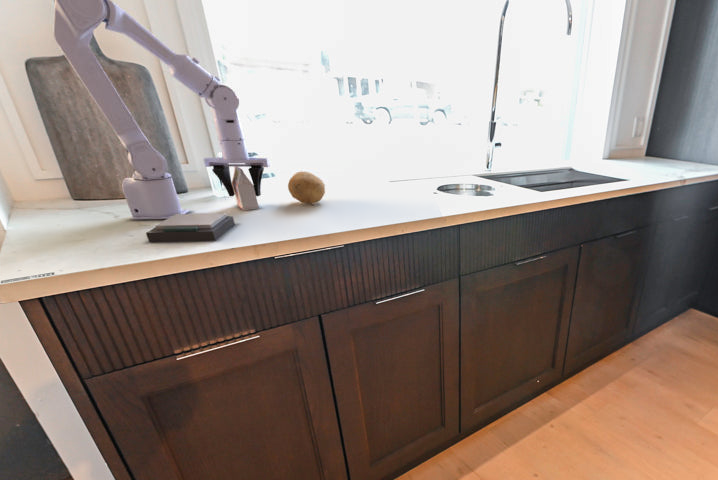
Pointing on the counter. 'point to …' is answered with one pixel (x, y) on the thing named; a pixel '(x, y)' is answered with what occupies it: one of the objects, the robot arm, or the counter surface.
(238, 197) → the grey angular block
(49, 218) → the counter surface
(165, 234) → the scale
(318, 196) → the potato
